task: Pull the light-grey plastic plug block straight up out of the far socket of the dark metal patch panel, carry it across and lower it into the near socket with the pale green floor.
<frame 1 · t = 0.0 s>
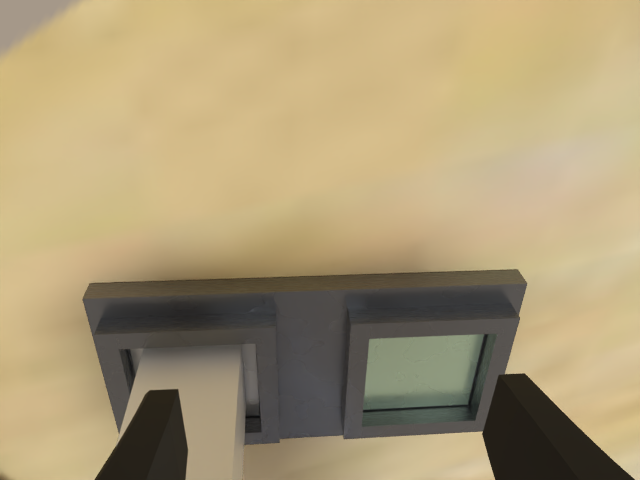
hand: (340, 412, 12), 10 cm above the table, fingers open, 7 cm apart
panel: (309, 355, 25), on the table
plug: (197, 378, 24), point 1 cm above the table, touching panel
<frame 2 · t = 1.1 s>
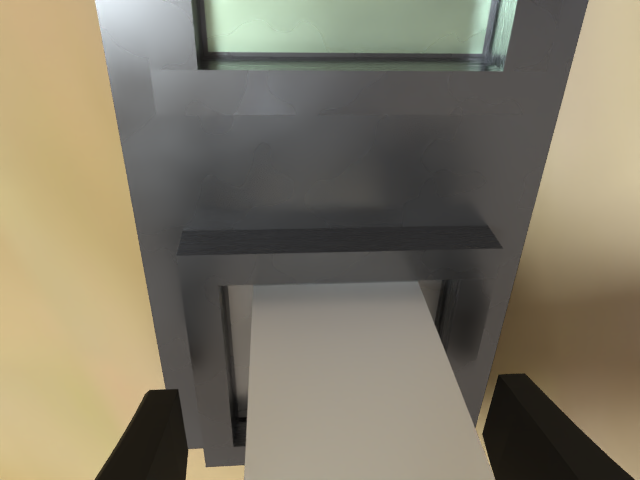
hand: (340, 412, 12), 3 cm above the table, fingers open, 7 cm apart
panel: (336, 149, 12), on the table
plug: (333, 345, 14), point 1 cm above the table, touching panel
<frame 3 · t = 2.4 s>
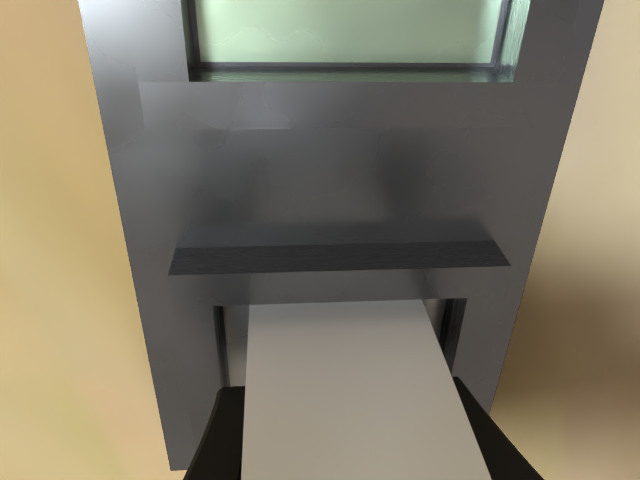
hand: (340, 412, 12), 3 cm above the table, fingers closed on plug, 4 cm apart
panel: (336, 162, 12), on the table
plug: (333, 364, 13), point 1 cm above the table, touching gripper, panel
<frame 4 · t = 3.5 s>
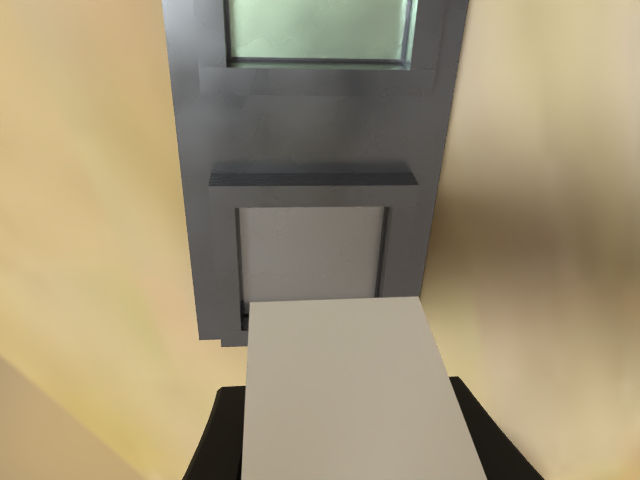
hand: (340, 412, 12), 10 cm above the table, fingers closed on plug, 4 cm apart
panel: (312, 121, 19), on the table
plug: (332, 360, 14), point 8 cm above the table, touching gripper
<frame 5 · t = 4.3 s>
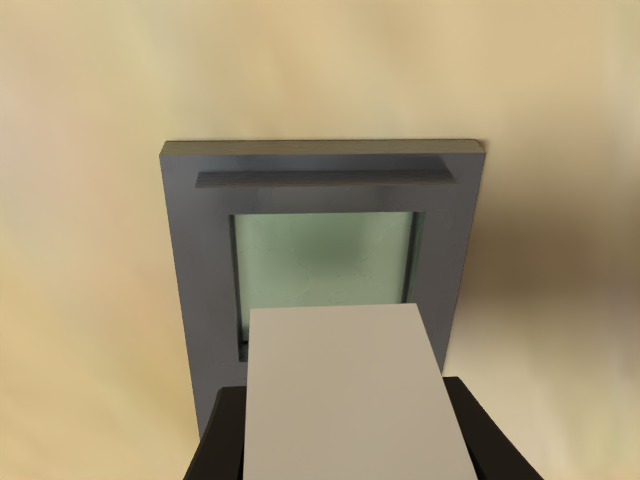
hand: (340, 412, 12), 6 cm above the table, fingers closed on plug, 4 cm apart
panel: (317, 366, 20), on the table
plug: (331, 364, 14), point 5 cm above the table, touching gripper
when the fingers open (3 cm above the table, at t = 5.4 s): plug stays where it is, resting on panel.
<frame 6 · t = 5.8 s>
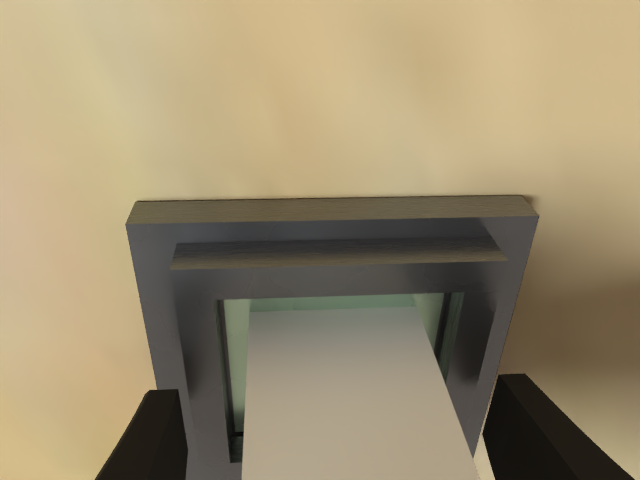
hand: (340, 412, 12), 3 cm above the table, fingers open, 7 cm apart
panel: (323, 448, 17), on the table
plug: (331, 369, 14), point 1 cm above the table, touching panel
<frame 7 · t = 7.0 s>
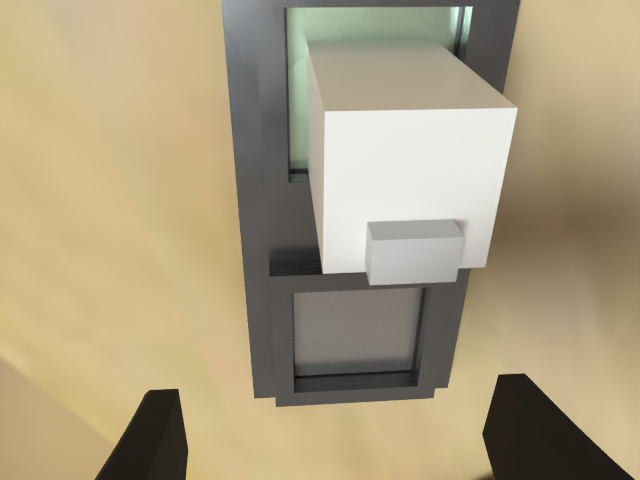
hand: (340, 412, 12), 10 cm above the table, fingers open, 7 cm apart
panel: (357, 211, 21), on the table
plug: (367, 104, 18), point 1 cm above the table, touching panel
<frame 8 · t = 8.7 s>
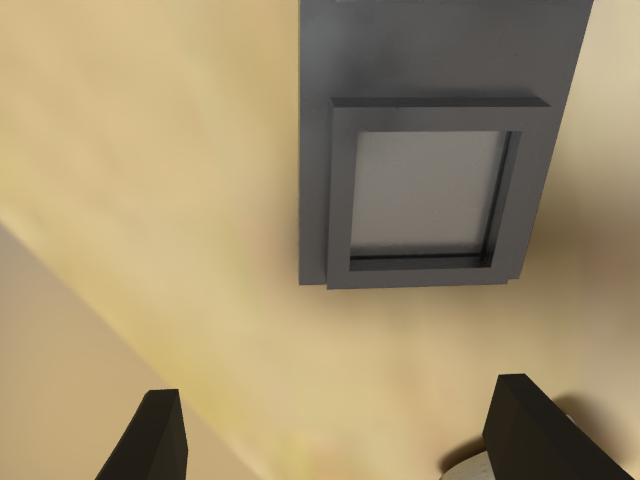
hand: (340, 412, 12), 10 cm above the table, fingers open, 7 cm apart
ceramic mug: (520, 459, 31), on the table
panel: (434, 43, 18), on the table
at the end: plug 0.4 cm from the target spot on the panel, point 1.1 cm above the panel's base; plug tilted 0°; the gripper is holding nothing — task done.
